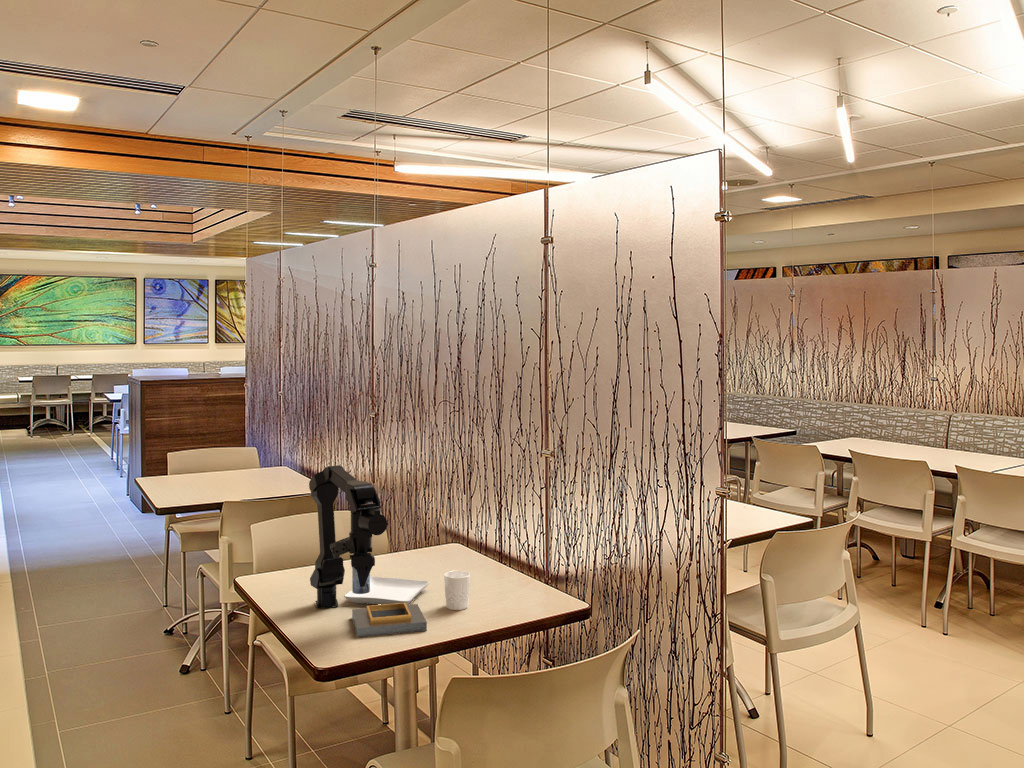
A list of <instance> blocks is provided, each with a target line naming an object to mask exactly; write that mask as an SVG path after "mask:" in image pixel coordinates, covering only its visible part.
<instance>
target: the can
mask: <svg viewBox="0 0 1024 768" xmlns="http://www.w3.org/2000/svg"><path fill="white" fill-rule="evenodd" d="M351 568H352V569H351V570H352V572H351V573H352V577H351V579H352V580H351V581H352V582H351V583H352V584H351V585H352V588H351V590H352V589H353V593H355V594H365V593H368V592H370V576H371V572H370V573H369V576H368V578H367V581H366V583H365V585H364V587H360V584H359V579H358V574H357V570H356V569H355V568H354V567H352V566H351Z"/></svg>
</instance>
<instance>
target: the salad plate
mask: <svg viewBox="0 0 1024 768" xmlns="http://www.w3.org/2000/svg"><path fill="white" fill-rule="evenodd" d="M429 584H430V581H429V580H422V579H421V580H420V579H409V578H400V577H399V578H398V577H387V576H386V577H383V576H382V577H381V576H371V575H370V592H368V593H365V594H355V593H353V589H352V588H351V590H350V591H348V592H347V593H346V594H345V595H343V596H344V598H345V599H346V600H348V601H349V602H352V603H355V604H356V603H357V604H362V603H368V604H367V605H374V604H381V605H383V604H395V603H406V605H410V604H411V602H412V601H413V600H414V598H416V597H417V596H418V595H419V594H420V593H421V592H422V591H424V590H425V588H427V587H428V585H429Z"/></svg>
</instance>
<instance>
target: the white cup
mask: <svg viewBox="0 0 1024 768" xmlns="http://www.w3.org/2000/svg"><path fill="white" fill-rule="evenodd" d="M443 575H444V576H443V577H444V578H443V579H444V596H445V607H446V609H448V610H453V611H462V610H466V609H468V607H469V598H470V589H471V588H470V587H471V585H470V584H471V583H470V582H471V573H470V572H469V571H465V570H450V571H447V572H444V574H443Z"/></svg>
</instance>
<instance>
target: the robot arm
mask: <svg viewBox="0 0 1024 768" xmlns="http://www.w3.org/2000/svg"><path fill="white" fill-rule="evenodd" d="M308 487H309V488H308V489H309V491H310V496H311V498H312V500H313V501H314V502H315V504H316V506H317V519H318V521H317V522H318V538H319V540H318V542H319V554H318V557H317V558H316V560H315V562H314V569H313V572H312V574H311V575H310V577H309V582H310V586H312V587H313V588H314V589H316V600H315V602H316V603H315V608H316V609H326V608H327V607H329V608H337V607H339V602H338V599H337V585H343V583H344V578H345V572H346V571H345V570H346V569H345V567H344V559H343V557H341V556H342V555H344V554H347V553H348V554H350V555H349V559H350V565H351V568H352V567H354V568H355V569H356V570H357V574H358V579H359V584H360V587H364V585H365V583H366V581H367V578H368V576H369V573H370V574H371V571H372V569H373V567H374V566H376V558H375V556H374V554H373V546H372V544H373V543H372V542H373V540H372V539H373V536H380V535H382V534H384V533H385V532H386V531H387V528H388V520H387V518H386V516H385V515H383V514H382V511H381V509H382V506H381V503H382V502H381V500H380V498H379V495H378V493H377V490H376V488H375V487H374V484H372V483H371V482H369V481H365V480H359V479H357V478H355V477H354V476H353V475H352V474H350V473H349V472H348V471H347V470H345V469H344V467H343V466H342V465H339V464H338V465H329V466H326V467H324V469H323V470H321V471H319V472H318V473H316V474H314V475H313V476H312V478H310V480H309V482H308ZM339 489H340V490H341V491H342V492H343V493H344V494H345V500H346V501H347V503H348V505H349V507H348V512H350V532H348V533H349V534H348V535H349V536H346V537H344V538H342V539H340V540H337V541H336V524H335V509H334V505H335V502H336V500H337V497H338V496H339ZM327 609H328V608H327Z"/></svg>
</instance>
